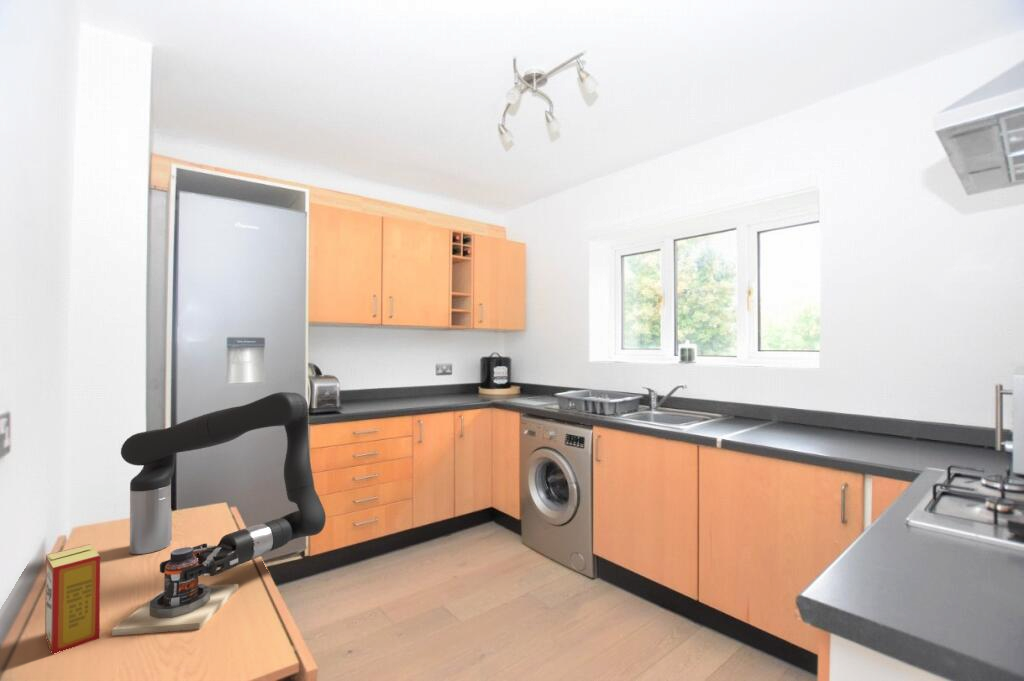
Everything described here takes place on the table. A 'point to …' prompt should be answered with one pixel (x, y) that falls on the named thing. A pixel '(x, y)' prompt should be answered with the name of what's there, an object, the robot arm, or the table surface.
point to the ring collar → (180, 609)
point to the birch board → (191, 621)
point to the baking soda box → (72, 597)
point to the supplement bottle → (173, 585)
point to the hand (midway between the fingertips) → (170, 572)
